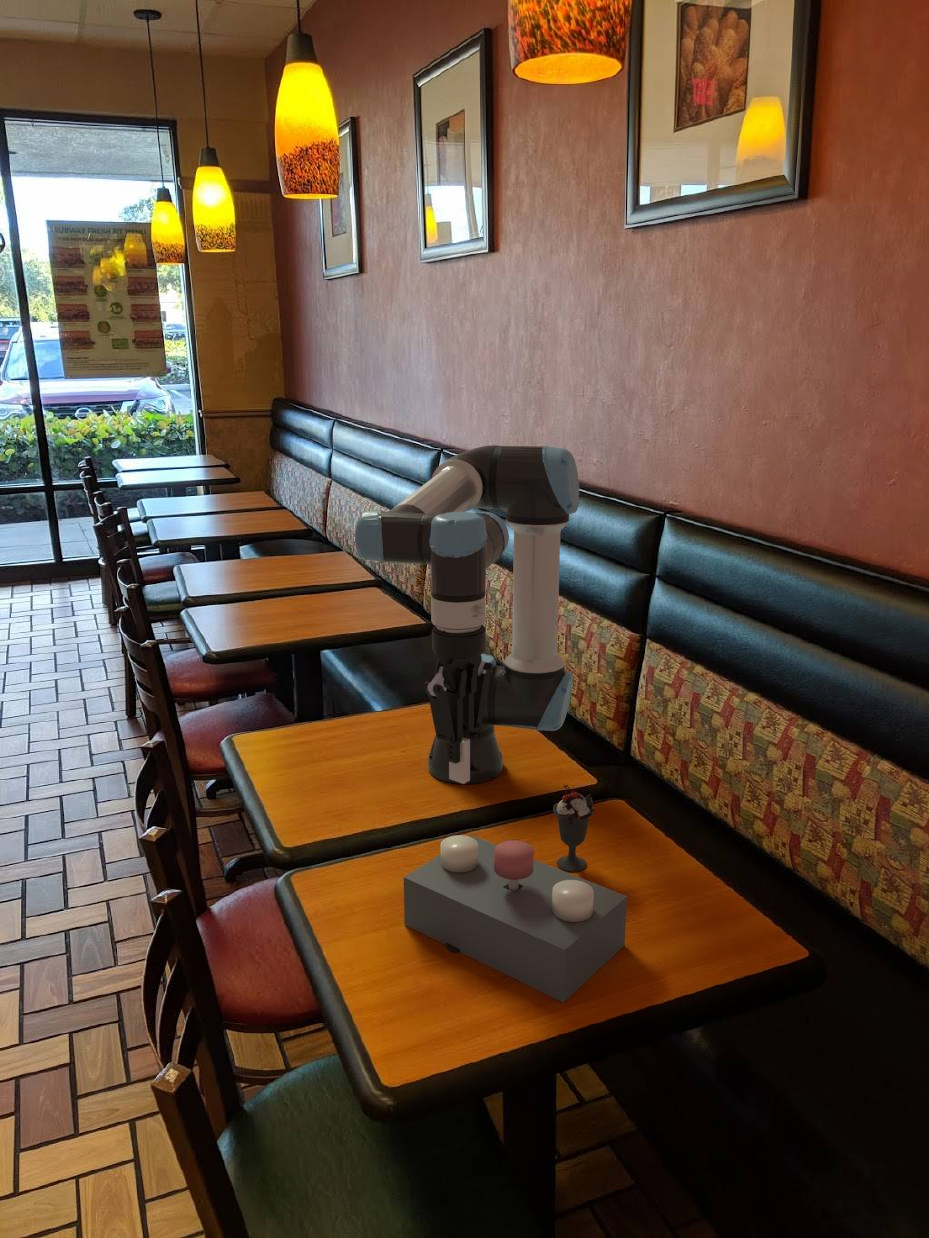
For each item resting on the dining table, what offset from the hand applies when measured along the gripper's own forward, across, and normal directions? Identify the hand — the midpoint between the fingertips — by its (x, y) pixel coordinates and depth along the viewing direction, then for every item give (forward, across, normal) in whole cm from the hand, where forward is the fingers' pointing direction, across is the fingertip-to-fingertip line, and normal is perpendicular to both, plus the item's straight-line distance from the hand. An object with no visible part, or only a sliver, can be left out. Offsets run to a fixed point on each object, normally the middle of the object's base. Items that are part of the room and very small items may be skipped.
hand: (459, 779), depth 142 cm
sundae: (+22, +22, -6) cm, 32 cm away
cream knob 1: (+18, 0, 0) cm, 18 cm away
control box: (+22, 0, -10) cm, 24 cm away
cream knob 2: (+18, 0, -20) cm, 27 cm away
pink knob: (+16, 0, -10) cm, 19 cm away
